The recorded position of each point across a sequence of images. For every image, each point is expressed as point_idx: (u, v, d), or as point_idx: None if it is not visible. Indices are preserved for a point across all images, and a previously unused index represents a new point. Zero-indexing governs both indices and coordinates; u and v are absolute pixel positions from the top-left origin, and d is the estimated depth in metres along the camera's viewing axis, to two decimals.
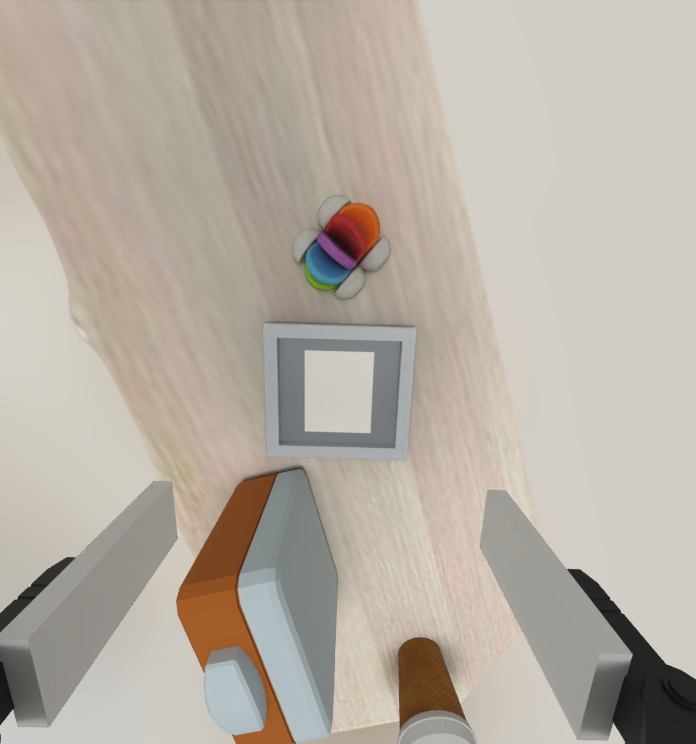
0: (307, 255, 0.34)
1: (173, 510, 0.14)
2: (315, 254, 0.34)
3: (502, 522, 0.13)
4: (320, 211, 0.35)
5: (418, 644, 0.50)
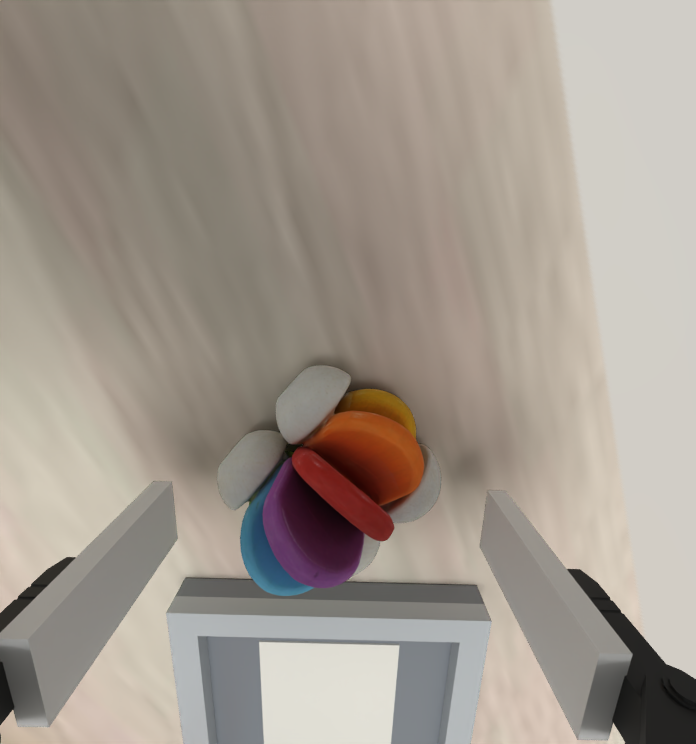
0: (243, 534, 0.14)
1: (173, 510, 0.14)
2: (263, 528, 0.14)
3: (501, 522, 0.13)
4: (278, 411, 0.14)
5: None
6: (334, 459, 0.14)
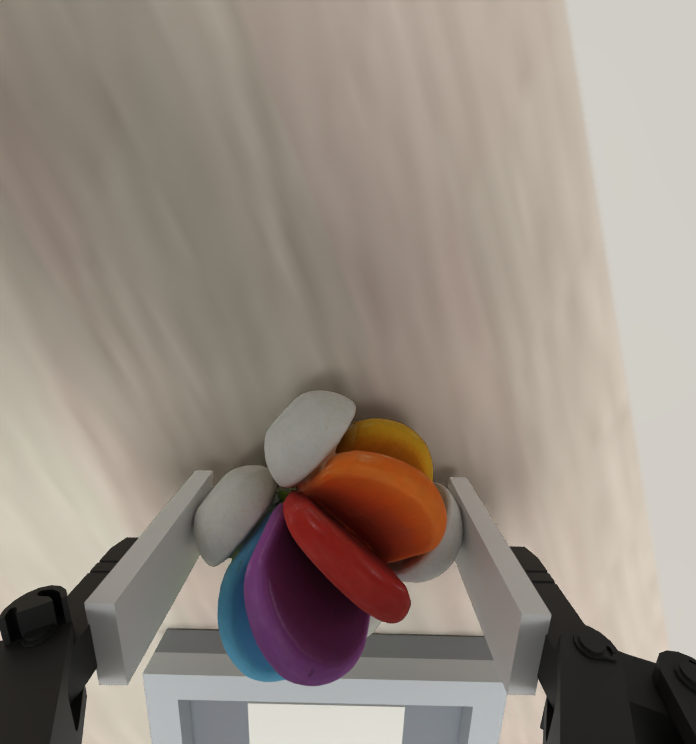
0: (221, 603, 0.11)
1: None
2: None
3: (458, 505, 0.14)
4: (267, 447, 0.12)
5: None
6: (335, 508, 0.12)
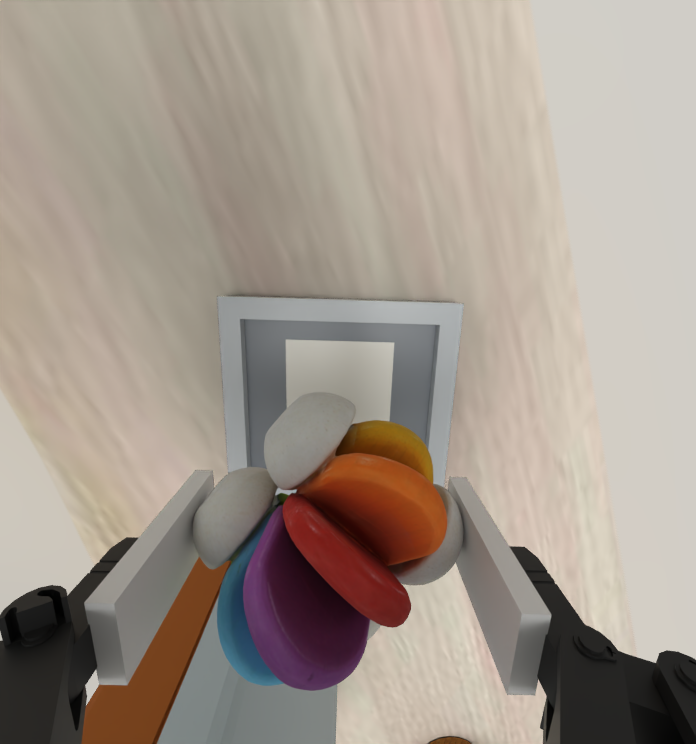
0: (220, 607, 0.11)
1: None
2: None
3: (458, 505, 0.14)
4: (267, 450, 0.12)
5: None
6: (335, 510, 0.11)
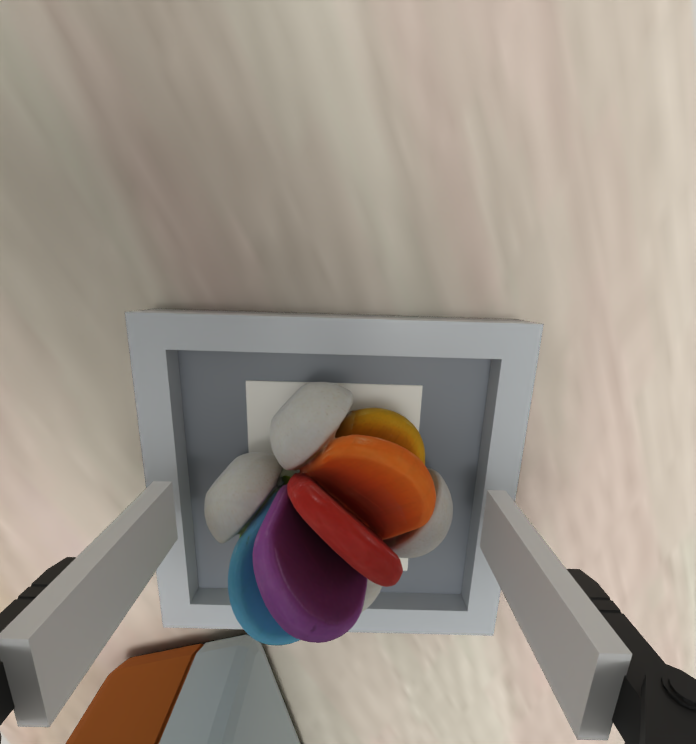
0: (231, 574, 0.12)
1: (173, 510, 0.14)
2: None
3: (501, 522, 0.13)
4: (272, 433, 0.13)
5: None
6: (334, 488, 0.13)
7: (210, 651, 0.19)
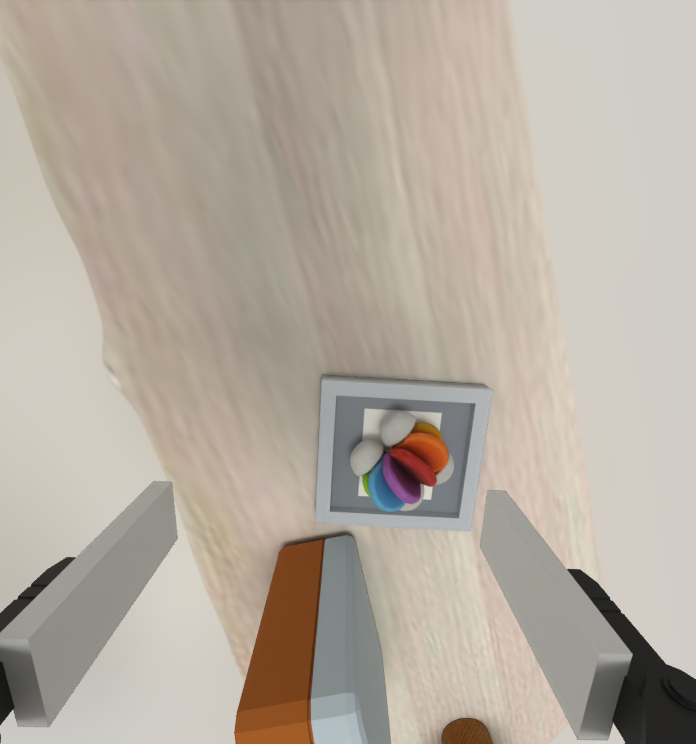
0: (371, 483, 0.32)
1: (173, 510, 0.14)
2: (379, 482, 0.32)
3: (501, 522, 0.13)
4: (384, 431, 0.33)
5: (466, 727, 0.45)
6: None
7: (332, 540, 0.39)
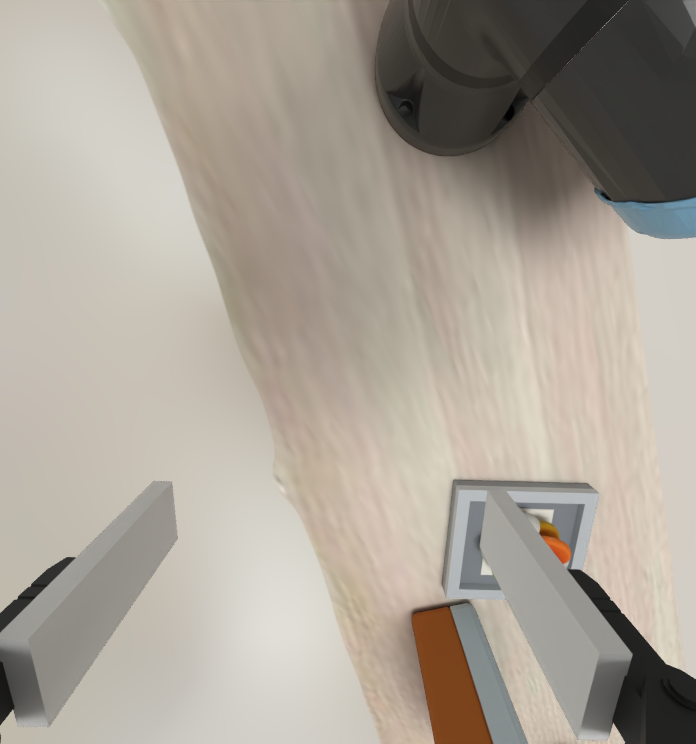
0: None
1: (173, 510, 0.14)
2: None
3: (501, 521, 0.13)
4: None
5: None
6: None
7: (457, 609, 0.47)
